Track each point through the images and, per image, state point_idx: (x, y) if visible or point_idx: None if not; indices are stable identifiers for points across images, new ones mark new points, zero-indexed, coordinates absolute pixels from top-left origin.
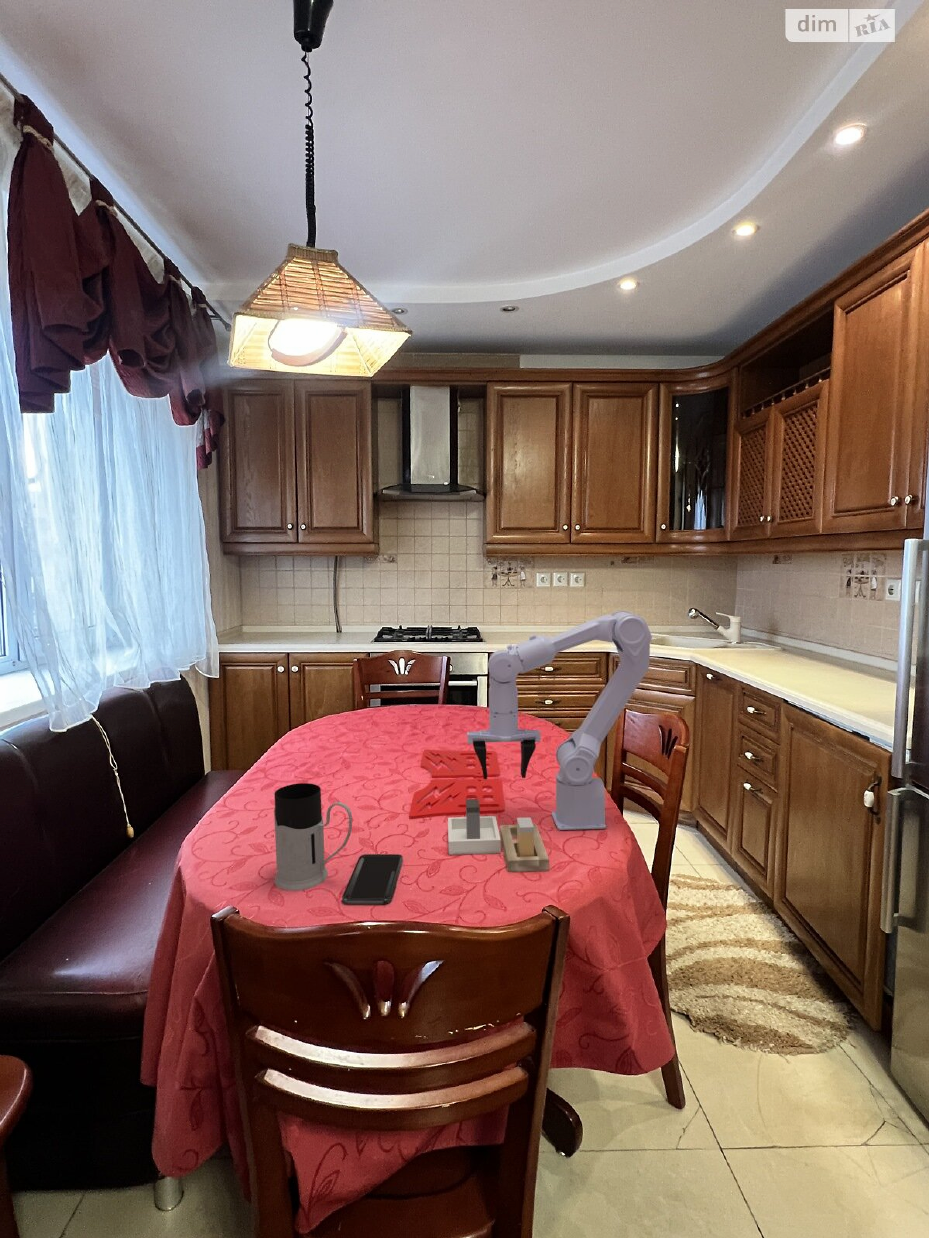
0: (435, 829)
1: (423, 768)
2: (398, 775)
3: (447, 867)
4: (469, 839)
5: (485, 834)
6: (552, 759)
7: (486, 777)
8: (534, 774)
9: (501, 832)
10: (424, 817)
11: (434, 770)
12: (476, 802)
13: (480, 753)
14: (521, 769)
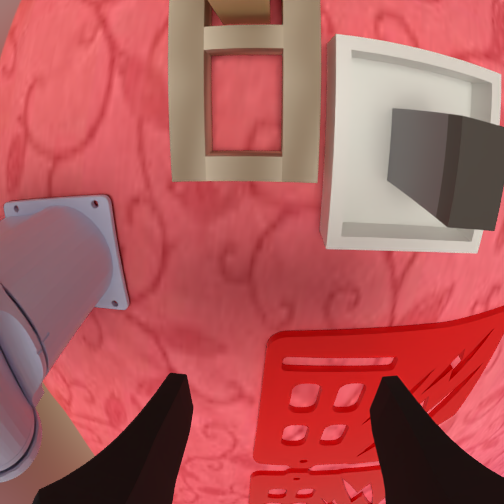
0: (483, 243)
1: None
2: None
3: (476, 11)
4: (445, 66)
5: (365, 173)
6: None
7: (389, 381)
8: (180, 466)
9: (319, 123)
10: (482, 313)
11: (378, 480)
12: (464, 183)
13: (484, 485)
14: (182, 422)
